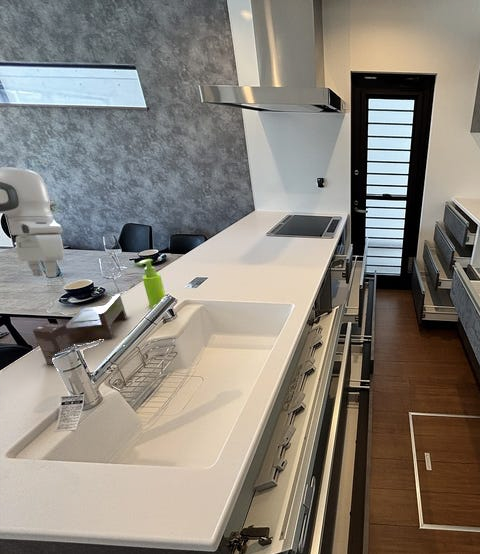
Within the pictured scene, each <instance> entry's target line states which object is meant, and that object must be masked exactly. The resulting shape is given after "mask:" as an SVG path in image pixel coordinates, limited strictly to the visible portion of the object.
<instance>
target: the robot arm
mask: <svg viewBox="0 0 480 554" xmlns="http://www.w3.org/2000/svg"><path fill="white" fill-rule="evenodd" d="M51 203H52V202H51V198H50V193H49V190H48V186H47V184H46V182H45V180H44V179H43V177H42V176H41V175H40V174H39V173H37V172H35V171H33V170H30V169H28V168H23V167H17V166H9V165H8V166H7V165H6V166H1V167H0V214H4V215H6V218H7V222H8V226H9V231H10V235H12V236H16V237H15V245H16V246H15V247H16V251H17V257H18V259H19V260H20V262H27V266H28V267H29V269H30V271H31V274H32V276H33V277H42V276H43V275H44V274H45V277H47V278H55V277H57V265H58V263H57V261H62V260H64V256H65V253H64V244H63V243H64V242H63V239H62V236H61V234H62V233H63V228H62V225H61V224H58V223H57V222H56V220H55V217H54V216H55V215H54V214H53V213H52V211H51ZM40 262H43V265H44V266H45V271H44V272H43V270H42V268H41V266H40Z"/></svg>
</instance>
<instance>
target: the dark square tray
mask: <svg viewBox="0 0 480 554" xmlns="http://www.w3.org/2000/svg"><path fill="white" fill-rule="evenodd" d="M127 319H128V316H127V312H126V309H125V305H124V303H123V300H122V297H121V294H115V295H113V297H112V298H110V300H109V301H108V303H106V304H105V305H100V306H90V307H82V308H81V310H79V311H78V312H77V313H76V314H75V315H74V316H73V317H72V318H71V319H70V320H69V321H68V322H66V324H65V325H66V328H67V330H68V333H69V335H70V338H71V340H72V343H73V345H74V344H80V343H81V344H82V343H90V342H97V341H96V340H99V339H104V340H103V341H105V340H106V341H107V340H113V339H114V332H113V330H112V326H111V325H112V324H113V322H120V321H126V320H127ZM99 341H100V340H99Z"/></svg>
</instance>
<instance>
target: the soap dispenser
mask: <svg viewBox="0 0 480 554" xmlns="http://www.w3.org/2000/svg"><path fill="white" fill-rule="evenodd" d="M153 261H154V260H153V259H152V258H145V259H142V260H140V261H138V262H136V265H137V266H143V265H145V267H143V270H144V275H143V276H142V277H141V279H142V282H143V285H144V289H145V293H146V296H147V300H148V304H149V308H151V309H153V306H154V305H155V304H157V303H158V302H159V301H160V300H161V299H162V298H163V297H164V296H166V292H165V289H164V285H163V280H162V276H161V274H160V273H157V271H156V267H155V266H154V265H152V262H153Z"/></svg>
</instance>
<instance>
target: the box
mask: <svg viewBox="0 0 480 554" xmlns="http://www.w3.org/2000/svg"><path fill="white" fill-rule="evenodd" d="M32 332H33V334H34V337H35V339H36V341H37V344H38V346H39V348H40V351H41V353H42V355H43V358H44V360H45V362H46V364H47V365H51V366H55V365H54V364H53V362H52V357H53V356H54V355H55V354H57V353H58V352H60V351H62V350H64V349H66V348H68V347H71V346H74V344H73V343H72V340H71V338H70V335H69V333H68V330H67V328H66V324H60V323H51V322H50V323H49V322H47V323H45V324H42V325H41V326H40V325H39V327H36V328H33V330H32ZM74 347H75V346H74Z"/></svg>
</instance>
